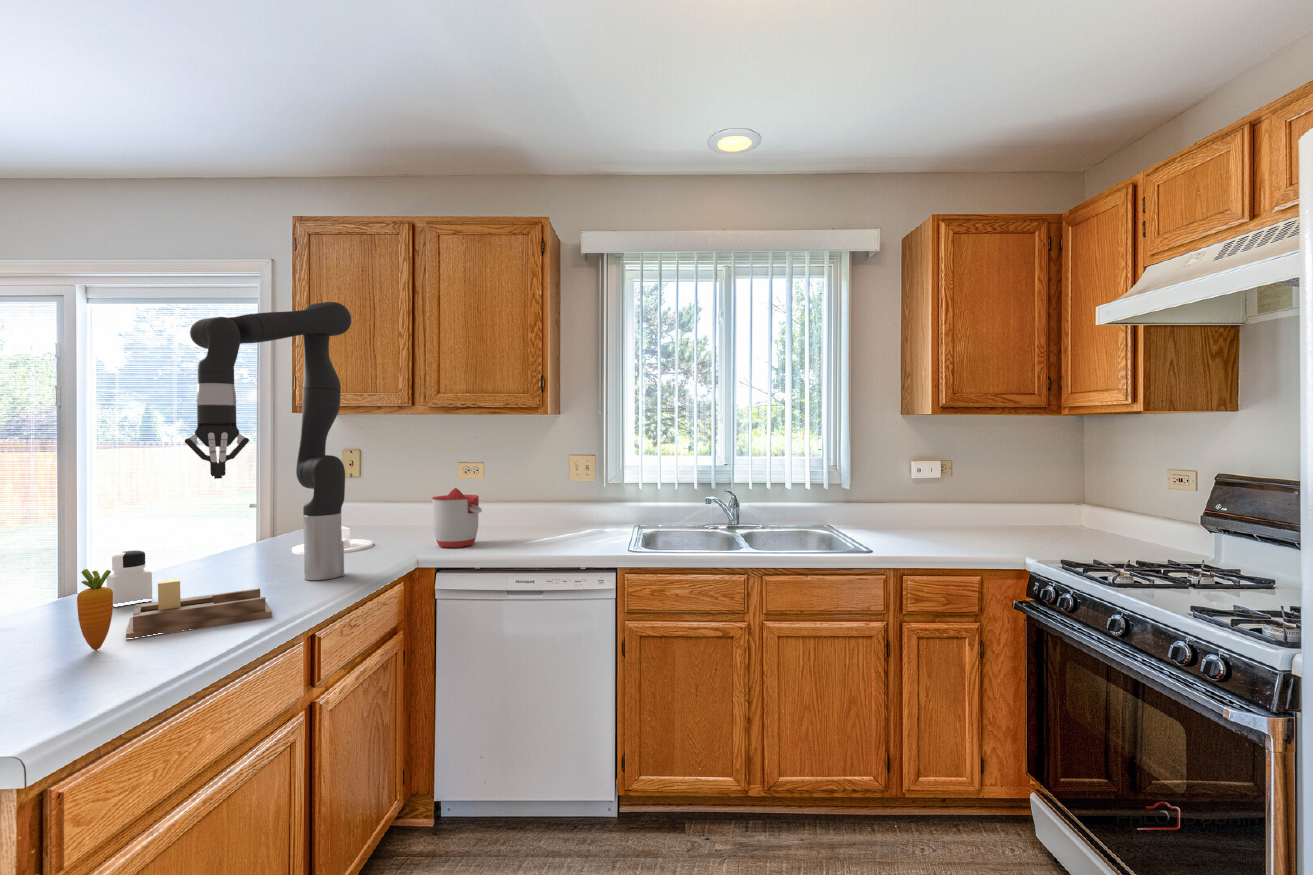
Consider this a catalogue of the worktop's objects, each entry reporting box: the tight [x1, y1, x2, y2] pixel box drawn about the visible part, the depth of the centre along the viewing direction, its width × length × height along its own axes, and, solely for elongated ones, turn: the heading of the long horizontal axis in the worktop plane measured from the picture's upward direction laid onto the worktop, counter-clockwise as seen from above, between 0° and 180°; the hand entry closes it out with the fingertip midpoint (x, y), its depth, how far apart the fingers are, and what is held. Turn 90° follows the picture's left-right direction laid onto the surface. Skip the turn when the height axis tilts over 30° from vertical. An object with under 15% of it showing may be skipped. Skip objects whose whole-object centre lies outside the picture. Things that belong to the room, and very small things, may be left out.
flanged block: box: [157, 577, 181, 610], centre depth 132 cm, size 7×7×8 cm
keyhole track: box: [125, 587, 273, 639], centre depth 135 cm, size 24×14×4 cm, turn 127°
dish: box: [291, 525, 374, 556], centre depth 220 cm, size 25×25×11 cm
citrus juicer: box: [431, 487, 482, 549], centre depth 222 cm, size 16×17×20 cm
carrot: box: [76, 568, 114, 651], centre depth 117 cm, size 5×5×15 cm
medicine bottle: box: [105, 549, 153, 604], centre depth 151 cm, size 7×7×12 cm
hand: (218, 478), depth 150 cm, fingers closed
